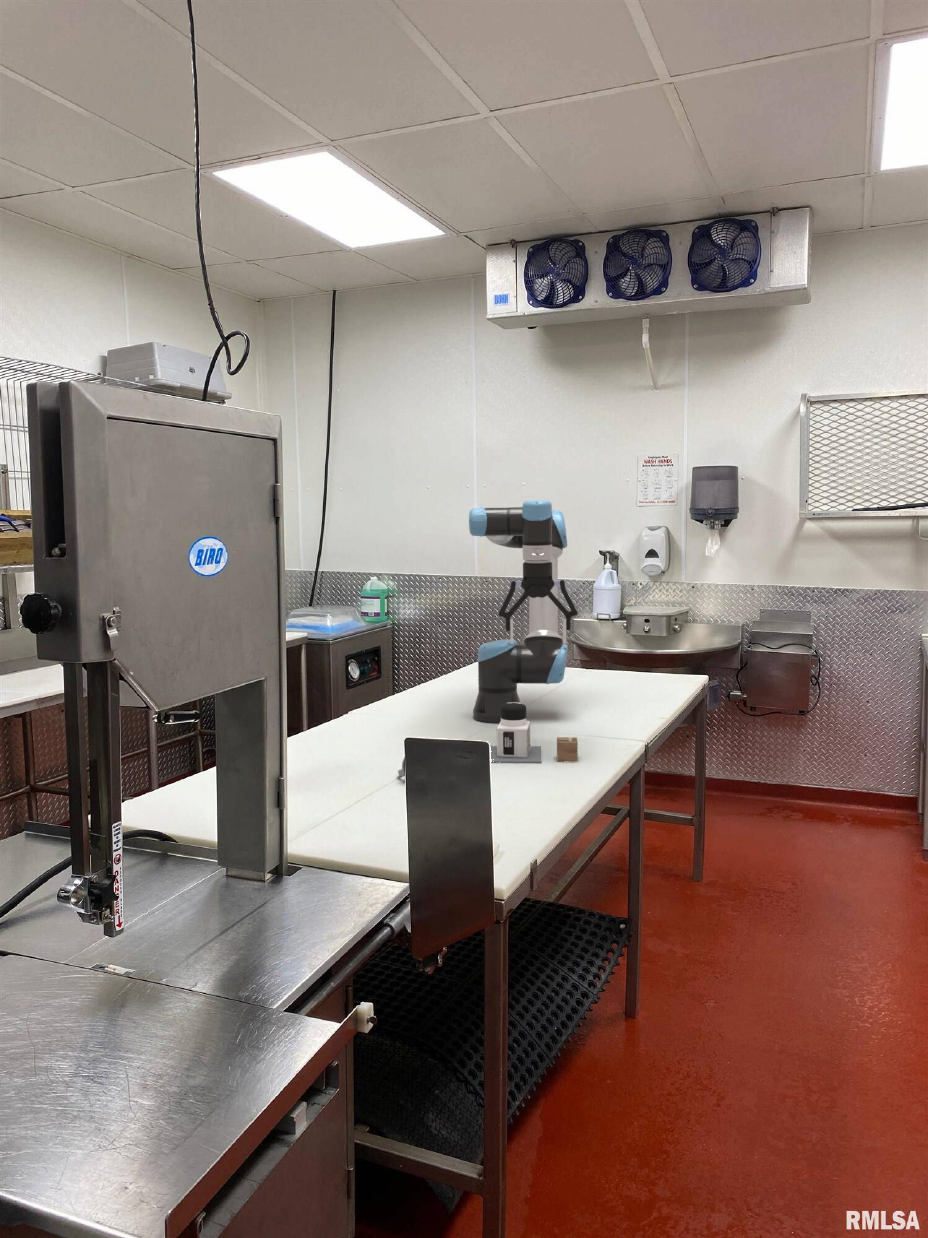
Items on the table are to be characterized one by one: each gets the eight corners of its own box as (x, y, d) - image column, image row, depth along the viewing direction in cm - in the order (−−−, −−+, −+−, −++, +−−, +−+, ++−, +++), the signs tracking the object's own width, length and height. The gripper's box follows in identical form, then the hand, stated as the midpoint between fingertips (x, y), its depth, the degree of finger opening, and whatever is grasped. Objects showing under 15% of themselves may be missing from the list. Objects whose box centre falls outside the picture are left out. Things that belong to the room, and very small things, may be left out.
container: (527, 758, 218) (526, 707, 216) (496, 757, 219) (496, 707, 218) (530, 749, 225) (530, 700, 224) (501, 748, 227) (500, 700, 225)
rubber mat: (488, 747, 230) (488, 745, 230) (541, 747, 229) (541, 746, 229) (485, 762, 216) (484, 761, 216) (541, 763, 215) (541, 761, 215)
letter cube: (556, 756, 221) (556, 736, 220) (576, 756, 220) (576, 736, 220) (557, 762, 216) (557, 741, 215) (577, 762, 216) (577, 742, 215)
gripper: (488, 563, 218) (489, 646, 222) (587, 561, 217) (587, 645, 221) (489, 560, 226) (490, 640, 229) (585, 559, 224) (585, 639, 228)
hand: (538, 642), depth 225 cm, fingers open, 13 cm apart
